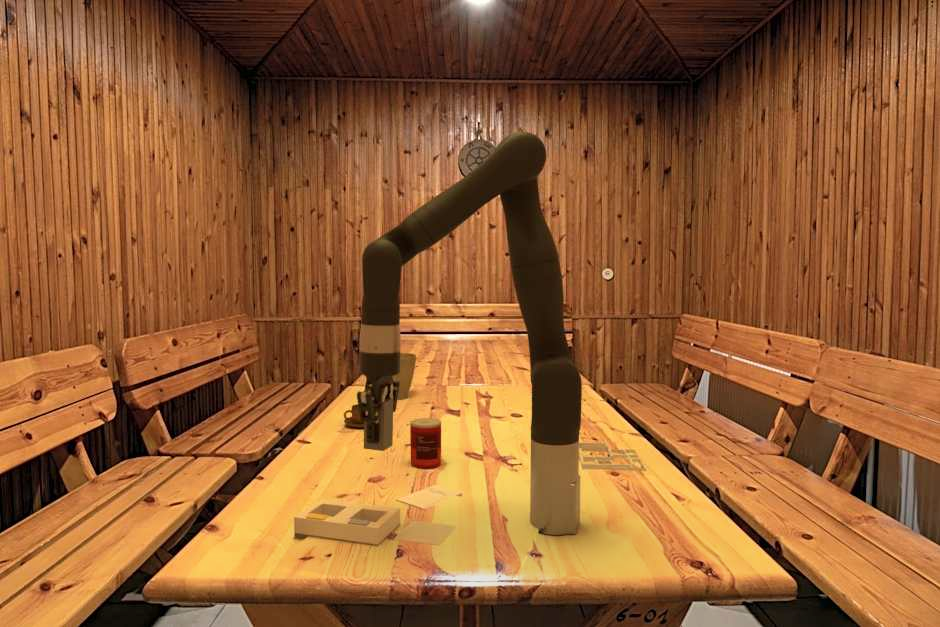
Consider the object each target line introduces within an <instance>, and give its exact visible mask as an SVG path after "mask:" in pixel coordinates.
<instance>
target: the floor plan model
mask: <svg viewBox="0 0 940 627" xmlns="http://www.w3.org/2000/svg"><path fill="white" fill-rule="evenodd" d="M582 452H590V453H591V452H596V453H597V452H598V454H597V455H596V454H595V455H594V454H593V455H592V454H590V456H585V455H582V454H583V453H582ZM605 453H606V454H607V456H601V454H602V455H605ZM632 453H634V454H632ZM614 458H620V459H623V458H624V459H627V461H628V462H629V464H628V463H627V464H626V463H622V462H621V463H613V462H614ZM585 462H591V463H585ZM592 462H594V463H592ZM634 462H636V463H639V465H640V467H634V466H635V465H634ZM579 463H580V465H581V469H582V470H601V471H602V470H603V471H604V470H608V471H609V470H610V471H635V472H646V471H647V467H646V466H645V463H644V462H643V460H642V458H640V457H639V455H638V453H637V452H636V449H616V448H615V449H614V448H613V449H612V448H611V447H610V446H608V444H607V442H580V441H579Z"/></svg>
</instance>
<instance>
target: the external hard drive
mask: <svg viewBox="0 0 940 627" xmlns="http://www.w3.org/2000/svg"><path fill="white" fill-rule="evenodd" d="M455 496H456V497H463V492H461V491H459V490H455V489H451V488H448V487H445V486H442V485H438V484H433V485H432V486H429V487H426V488H425V487H424V488H423V489H421V490H418V491H416V492H413V493H410V494H407V495H404V496H401V497H399V498H397V499H395V502H399V503H403V504H405V505H409V506H411V507H414V508H418V509H421V510H426V509H428V508H430V507H432V506H434V505H435V506H436V505H437V504H439V503H441V502H444V501H447V500H449V499H450V498H453V497H455Z"/></svg>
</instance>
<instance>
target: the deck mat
mask: <svg viewBox="0 0 940 627" xmlns="http://www.w3.org/2000/svg"><path fill="white" fill-rule="evenodd" d="M456 527H457V526H456V525H452V524H451V525H450V524H444V523H434V522H429V521H428V522H427V521H419V520H411V521H410V522H409V523H408V524H407V525H406V526H405V527H404V528H403V529H402V530H400V532H399V533H398V534H397V535H396V536H395V537H394V538H393V540H395V541H396V540H397V541H406V542H412V543H418V544H419V543H420V544H426V545H431V546H432V545H434V546H441V545H442V543H444V541H445V540H446V539H447V537H449V535H450V534H452V532H453V530H454V529H456Z"/></svg>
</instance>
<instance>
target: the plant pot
mask: <svg viewBox="0 0 940 627" xmlns="http://www.w3.org/2000/svg"><path fill="white" fill-rule="evenodd" d="M416 360H417V354H414V353H410V352H409V353H408V352H400V373H399V374H398V375H395V376H392V377H393V381H399V382H400V385H399V392H398V399H397V401H398V400H405V399H407V398H408V395H409V392H410V389H411V386H412V382H413V379H414V374H415V370H416V369H415V368H416V362H417V361H416Z"/></svg>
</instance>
